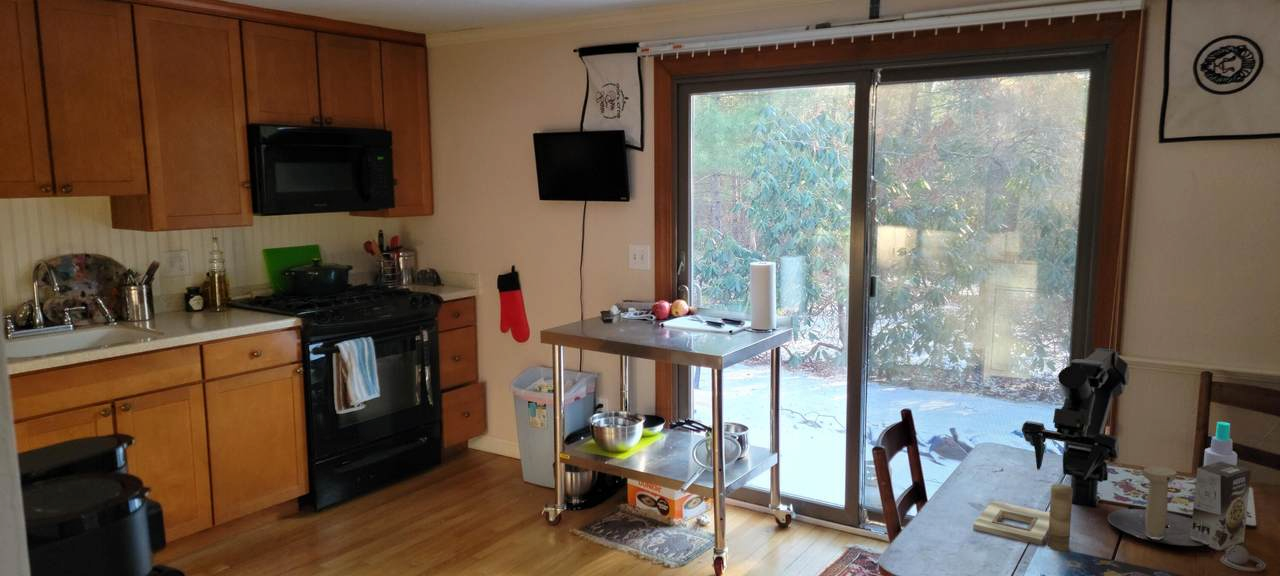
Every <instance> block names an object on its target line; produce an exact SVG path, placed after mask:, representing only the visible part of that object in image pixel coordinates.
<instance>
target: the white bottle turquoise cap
mask: <svg viewBox="0 0 1280 576" xmlns="http://www.w3.org/2000/svg"><path fill="white" fill-rule="evenodd" d="M1215 429H1216V431H1215V436H1212V437H1211V441H1210V442H1211V443H1210V447H1207V448H1205V449H1204V456H1203V466H1206V465H1210V464H1214V463H1217V462H1224V463H1228V464H1232V465H1236V466H1237V462H1238V454H1237V452H1235V451H1233V442H1234V441H1233V439H1232V438H1230V435H1231V423H1229V422H1225V421H1217V422H1216V428H1215Z"/></svg>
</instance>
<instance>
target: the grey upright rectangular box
mask: <svg viewBox="0 0 1280 576" xmlns="http://www.w3.org/2000/svg"><path fill="white" fill-rule="evenodd" d="M1251 472H1252V470H1251V469H1249V468H1247V467H1243V466H1240V465H1237V464H1236V465H1232V464H1228V463H1224V462H1217V463H1214V464H1210V465H1206V466H1204V465H1202V466H1199V467H1197V469H1196V478H1195V485H1194V486H1195V488H1194V495H1193V505H1192V506H1193V507H1192V508H1193V509H1192V516H1191V517H1192V518H1191V527H1190V535H1191V536H1193V537H1196V538H1199V539H1203V540H1205V541H1207V542H1210V543H1211V544H1210V545H1209V546H1208V547H1209V548H1211V549H1214V550H1216V551H1222V550H1224V549H1227V547H1228V548H1230V547H1232V546H1231V545H1233V546H1237V545H1238V544H1241V543H1244V541H1245V535H1246V534H1245V533H1246V524H1247V515H1248V503H1249V494H1250V484H1251V475H1252V473H1251ZM1229 546H1230V547H1229Z"/></svg>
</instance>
